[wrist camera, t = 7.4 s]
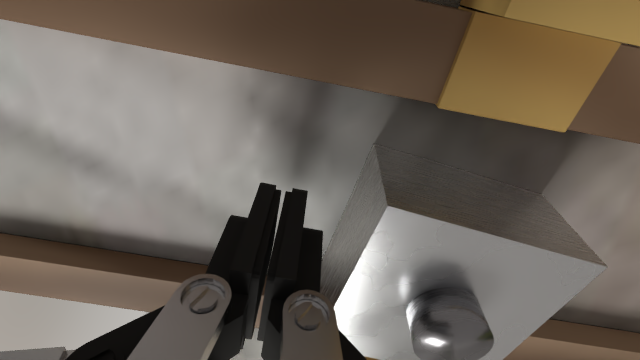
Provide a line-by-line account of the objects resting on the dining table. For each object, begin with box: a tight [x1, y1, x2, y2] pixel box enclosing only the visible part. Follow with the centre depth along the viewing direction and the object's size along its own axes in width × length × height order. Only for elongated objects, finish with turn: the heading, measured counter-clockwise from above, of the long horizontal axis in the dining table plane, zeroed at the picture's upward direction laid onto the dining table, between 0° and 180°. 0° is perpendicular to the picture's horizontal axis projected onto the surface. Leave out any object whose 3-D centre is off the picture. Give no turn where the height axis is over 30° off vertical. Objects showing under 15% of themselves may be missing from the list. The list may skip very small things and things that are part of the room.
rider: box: [320, 143, 607, 360], centre depth 12 cm, size 7×7×5 cm
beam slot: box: [0, 0, 640, 360], centre depth 13 cm, size 23×40×3 cm, turn 80°
